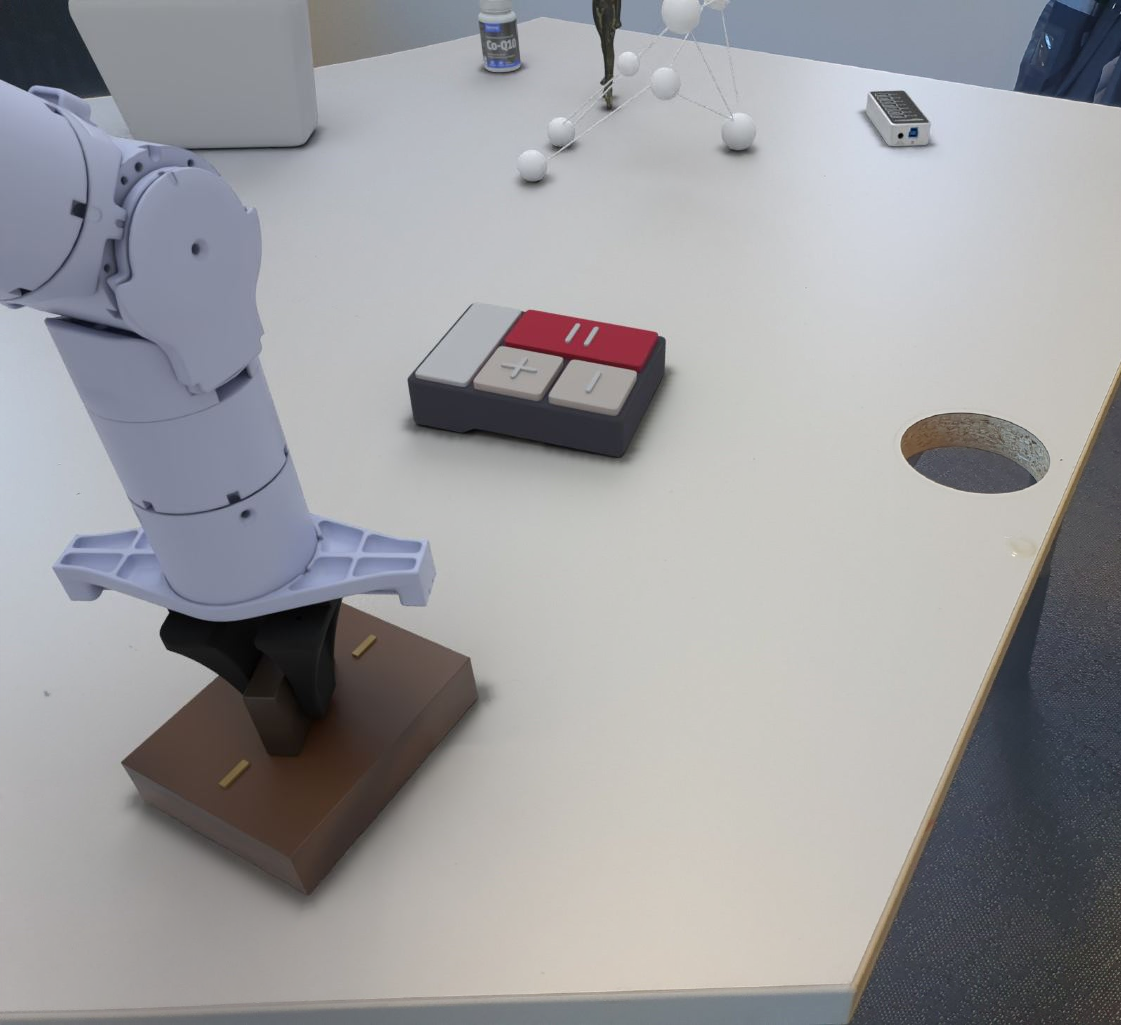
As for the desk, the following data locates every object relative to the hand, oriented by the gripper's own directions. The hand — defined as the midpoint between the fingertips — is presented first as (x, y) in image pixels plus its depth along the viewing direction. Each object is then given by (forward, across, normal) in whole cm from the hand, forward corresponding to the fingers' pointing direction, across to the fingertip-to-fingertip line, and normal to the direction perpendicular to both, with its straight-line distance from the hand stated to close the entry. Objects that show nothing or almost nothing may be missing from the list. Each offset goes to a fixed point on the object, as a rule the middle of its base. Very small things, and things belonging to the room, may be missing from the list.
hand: (301, 700), depth 46 cm
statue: (+4, -6, -92) cm, 92 cm away
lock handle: (0, 0, 0) cm, 0 cm away
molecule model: (+4, -11, -75) cm, 76 cm away
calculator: (+4, -7, -30) cm, 31 cm away
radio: (+4, +34, -80) cm, 87 cm away
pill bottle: (+4, +8, -106) cm, 106 cm away
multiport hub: (+4, -39, -84) cm, 93 cm away
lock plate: (+3, 0, 0) cm, 3 cm away
